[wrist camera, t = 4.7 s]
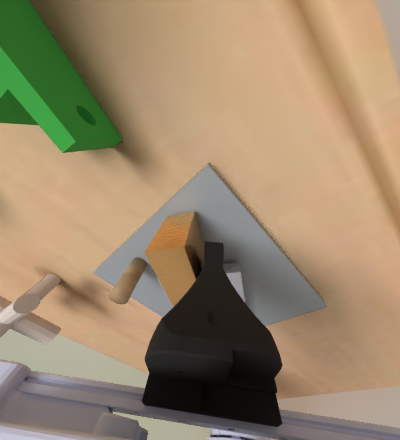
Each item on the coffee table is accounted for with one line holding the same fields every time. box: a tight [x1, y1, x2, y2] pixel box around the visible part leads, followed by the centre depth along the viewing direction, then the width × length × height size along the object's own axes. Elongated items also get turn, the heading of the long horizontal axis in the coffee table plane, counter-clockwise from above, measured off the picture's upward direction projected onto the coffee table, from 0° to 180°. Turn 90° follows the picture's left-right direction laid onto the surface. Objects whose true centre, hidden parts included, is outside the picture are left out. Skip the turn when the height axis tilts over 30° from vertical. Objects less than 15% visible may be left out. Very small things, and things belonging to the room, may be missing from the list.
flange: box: [144, 211, 245, 308], centre depth 13 cm, size 14×8×4 cm, turn 13°
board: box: [93, 163, 327, 326], centre depth 16 cm, size 20×18×5 cm
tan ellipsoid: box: [109, 257, 147, 304], centre depth 14 cm, size 2×2×4 cm
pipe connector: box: [0, 273, 61, 345], centre depth 16 cm, size 10×10×10 cm
